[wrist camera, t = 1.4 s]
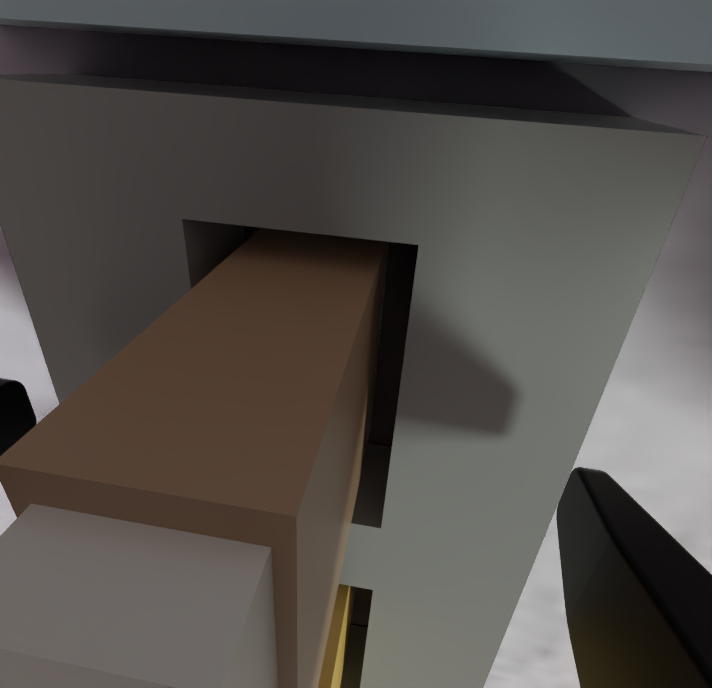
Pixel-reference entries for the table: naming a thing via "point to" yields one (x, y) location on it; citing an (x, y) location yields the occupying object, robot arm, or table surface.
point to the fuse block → (428, 304)
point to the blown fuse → (200, 483)
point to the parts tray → (414, 26)
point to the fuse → (337, 638)
